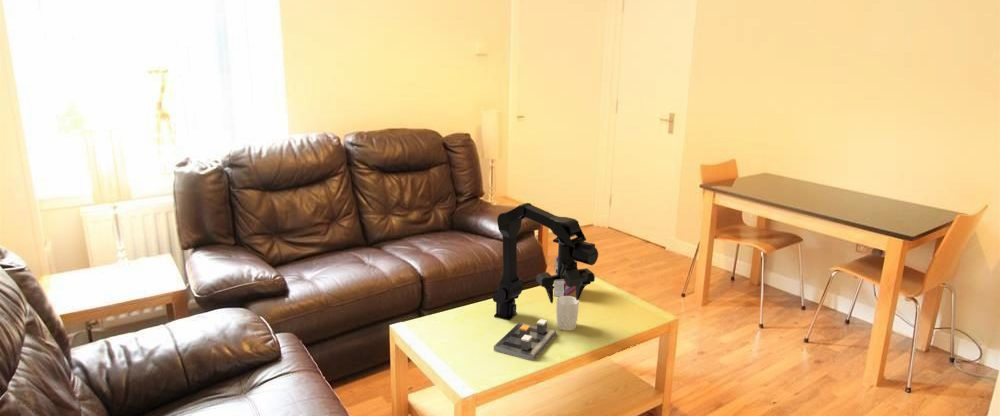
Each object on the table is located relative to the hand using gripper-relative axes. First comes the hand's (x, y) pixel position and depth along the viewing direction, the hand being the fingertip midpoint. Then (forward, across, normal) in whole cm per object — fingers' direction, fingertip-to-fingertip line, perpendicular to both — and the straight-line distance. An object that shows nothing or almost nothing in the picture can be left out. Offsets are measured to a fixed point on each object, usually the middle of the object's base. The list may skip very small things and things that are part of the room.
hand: (564, 301), depth 201 cm
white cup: (+14, +5, +8) cm, 17 cm away
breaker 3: (+12, -6, +4) cm, 14 cm away
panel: (+14, -13, +1) cm, 19 cm away
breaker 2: (+12, -15, -6) cm, 20 cm away
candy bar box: (+14, +16, +36) cm, 42 cm away
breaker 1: (+12, -13, +1) cm, 18 cm away
